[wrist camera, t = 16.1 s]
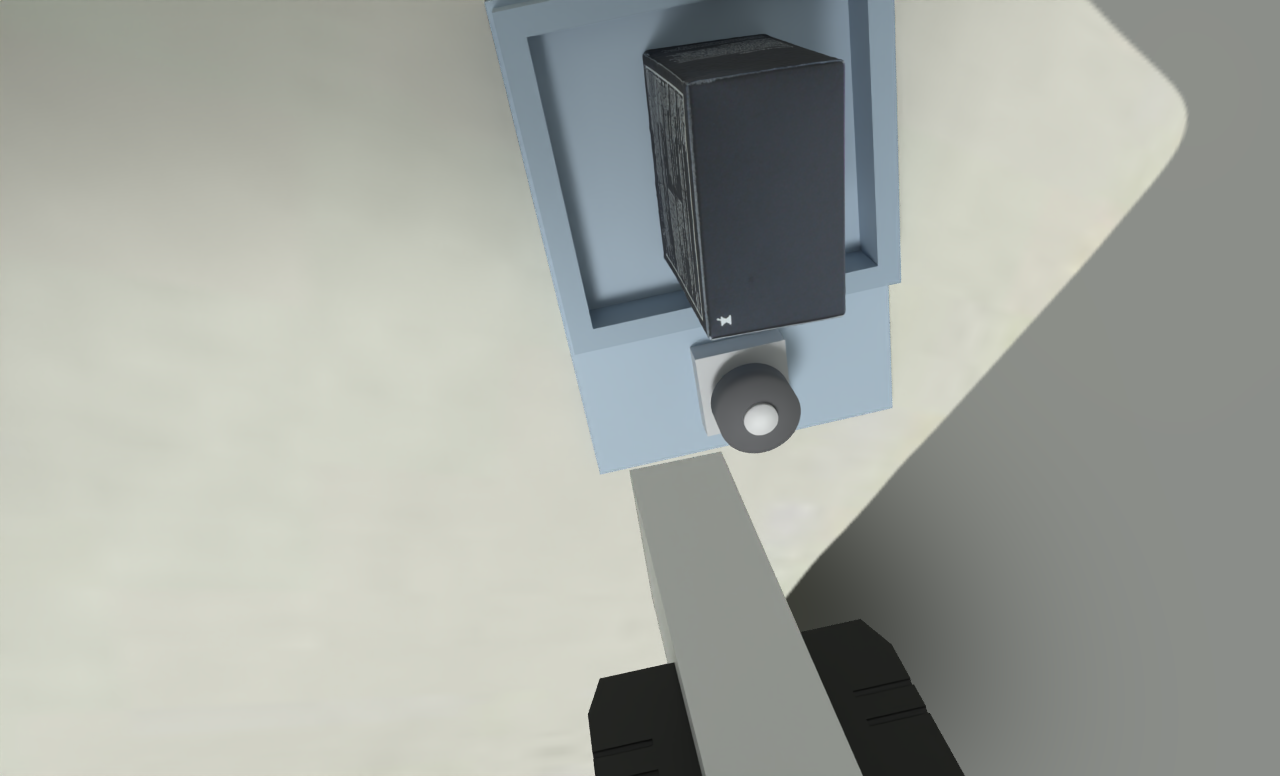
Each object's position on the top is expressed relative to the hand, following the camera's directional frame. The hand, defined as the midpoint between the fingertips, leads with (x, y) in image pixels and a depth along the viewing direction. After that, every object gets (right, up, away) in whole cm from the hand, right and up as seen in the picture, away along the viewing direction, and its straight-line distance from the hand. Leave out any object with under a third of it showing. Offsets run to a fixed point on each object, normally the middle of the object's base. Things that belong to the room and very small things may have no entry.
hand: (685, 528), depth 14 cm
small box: (+3, +14, +28) cm, 32 cm away
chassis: (+3, +11, +31) cm, 33 cm away
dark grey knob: (+5, +2, +33) cm, 34 cm away
